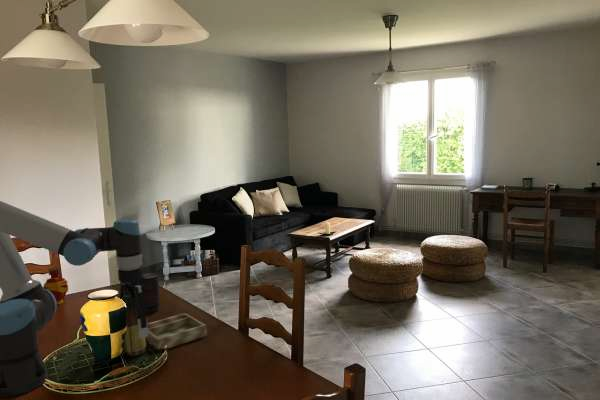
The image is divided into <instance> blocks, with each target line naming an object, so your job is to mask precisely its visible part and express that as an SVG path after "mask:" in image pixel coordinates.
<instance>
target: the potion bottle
mask: <svg viewBox="0 0 600 400" xmlns="http://www.w3.org/2000/svg"><path fill="white" fill-rule="evenodd" d="M59 269H60V268H59V267H58V268H57V267H54V268H53V267H52V268H49V269H48V275H49V276H50V278H47V279H46V281H45V283H44V284H43V285H42V287H43V288H44V289H46V290H48V291H50V292H51V293H52V294H53V295H54V297H55V299H56V303H57V305H60V304H63V303H64V300H63V299H64V298H65V296H66V294H67V293H68V292H69V285H68V280H67V279H66V278H64V277H60V276H59V274H61V273H60V272H61V271H60V270H59Z"/></svg>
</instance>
